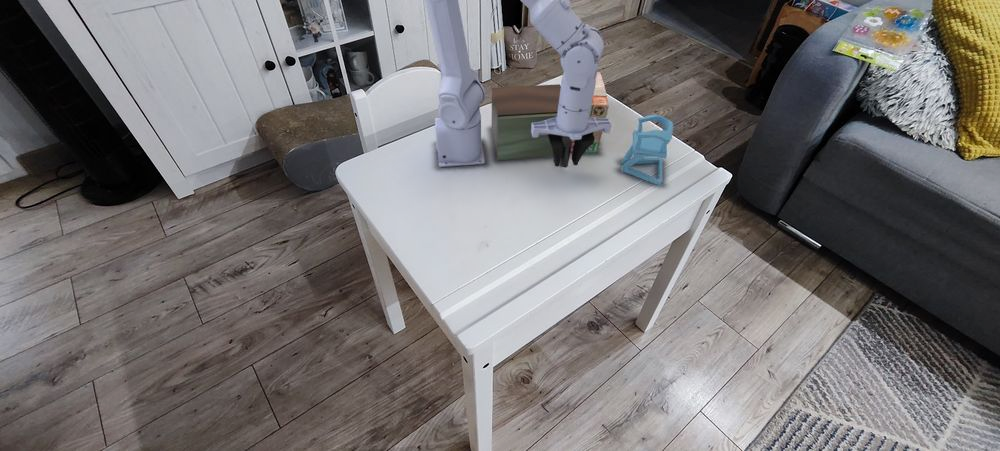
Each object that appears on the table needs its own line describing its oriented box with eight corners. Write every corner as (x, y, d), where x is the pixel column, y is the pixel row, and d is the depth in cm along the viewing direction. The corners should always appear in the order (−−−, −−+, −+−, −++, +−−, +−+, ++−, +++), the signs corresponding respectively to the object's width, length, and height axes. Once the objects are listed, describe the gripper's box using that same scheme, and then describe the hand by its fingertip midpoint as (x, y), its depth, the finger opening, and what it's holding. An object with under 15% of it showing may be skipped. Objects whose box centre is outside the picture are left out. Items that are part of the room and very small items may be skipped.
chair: (621, 155, 98) (635, 106, 89) (661, 161, 97) (678, 113, 88) (619, 178, 93) (633, 129, 84) (661, 185, 92) (679, 136, 83)
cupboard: (564, 153, 98) (570, 110, 90) (496, 157, 96) (497, 115, 89) (554, 125, 105) (560, 84, 97) (491, 129, 103) (491, 87, 95)
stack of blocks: (562, 98, 112) (568, 50, 103) (587, 98, 112) (596, 51, 103) (569, 153, 98) (577, 103, 89) (598, 154, 98) (609, 104, 89)
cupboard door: (572, 177, 93) (580, 135, 85) (501, 182, 91) (502, 140, 83) (564, 153, 98) (571, 112, 90) (497, 157, 96) (497, 116, 88)
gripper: (538, 118, 76) (532, 178, 86) (622, 113, 78) (606, 173, 88) (531, 95, 81) (526, 155, 91) (610, 90, 82) (596, 150, 92)
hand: (565, 162), depth 90 cm, fingers open, 3 cm apart
